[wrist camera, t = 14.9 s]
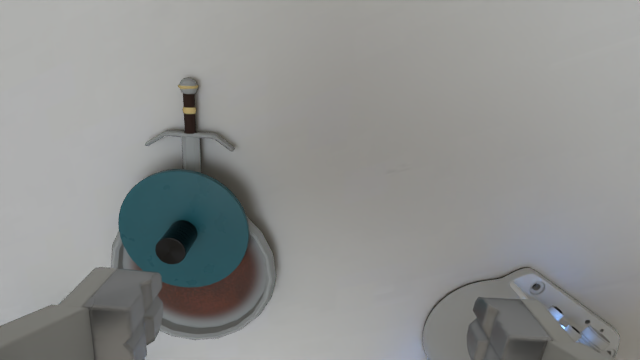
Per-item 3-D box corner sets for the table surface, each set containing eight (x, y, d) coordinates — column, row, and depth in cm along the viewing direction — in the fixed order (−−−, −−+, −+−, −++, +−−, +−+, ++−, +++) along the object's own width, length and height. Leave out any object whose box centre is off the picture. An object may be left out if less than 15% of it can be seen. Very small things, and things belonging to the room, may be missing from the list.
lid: (257, 178, 37) (248, 197, 33) (243, 288, 41) (233, 319, 37) (124, 157, 36) (97, 173, 32) (123, 271, 40) (98, 300, 36)
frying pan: (281, 85, 35) (273, 348, 43) (284, 82, 37) (275, 330, 46) (83, 72, 34) (114, 341, 43) (100, 70, 37) (127, 323, 46)
